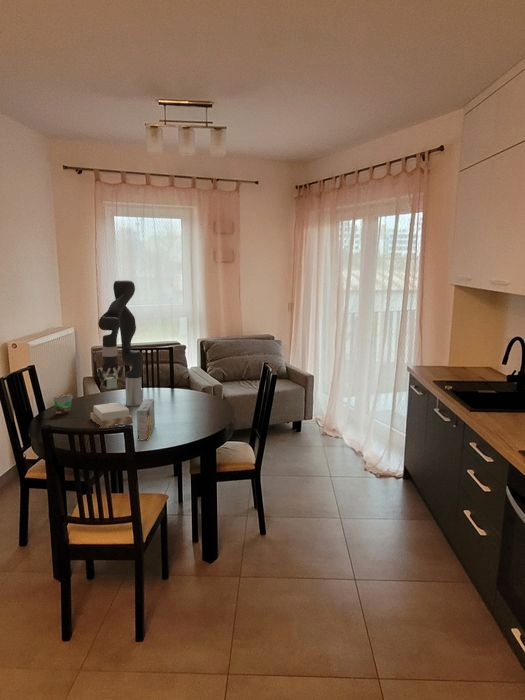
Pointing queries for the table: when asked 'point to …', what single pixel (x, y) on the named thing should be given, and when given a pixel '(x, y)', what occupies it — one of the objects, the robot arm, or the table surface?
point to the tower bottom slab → (110, 422)
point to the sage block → (111, 382)
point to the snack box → (145, 419)
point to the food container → (63, 404)
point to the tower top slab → (111, 411)
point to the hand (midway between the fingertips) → (110, 386)
